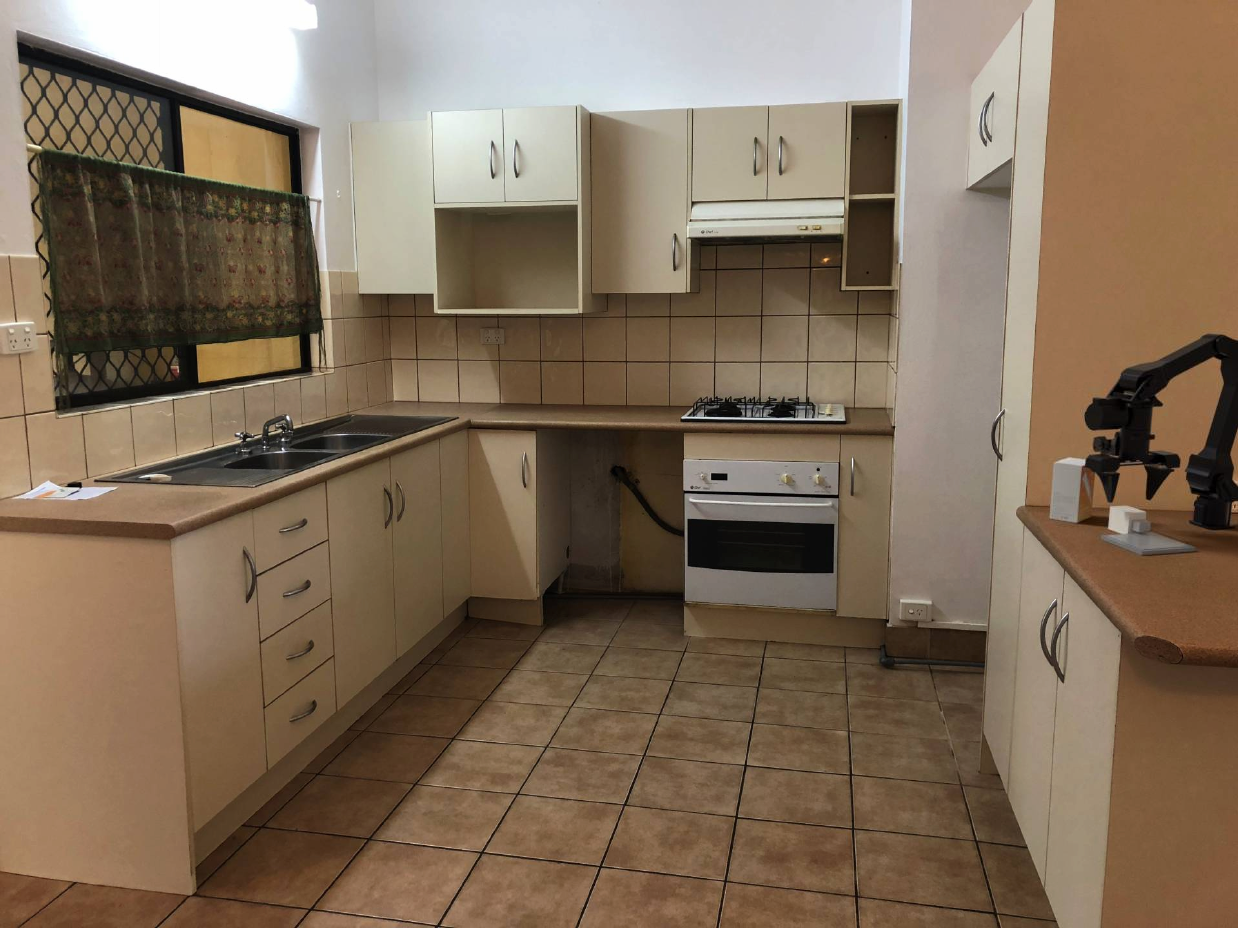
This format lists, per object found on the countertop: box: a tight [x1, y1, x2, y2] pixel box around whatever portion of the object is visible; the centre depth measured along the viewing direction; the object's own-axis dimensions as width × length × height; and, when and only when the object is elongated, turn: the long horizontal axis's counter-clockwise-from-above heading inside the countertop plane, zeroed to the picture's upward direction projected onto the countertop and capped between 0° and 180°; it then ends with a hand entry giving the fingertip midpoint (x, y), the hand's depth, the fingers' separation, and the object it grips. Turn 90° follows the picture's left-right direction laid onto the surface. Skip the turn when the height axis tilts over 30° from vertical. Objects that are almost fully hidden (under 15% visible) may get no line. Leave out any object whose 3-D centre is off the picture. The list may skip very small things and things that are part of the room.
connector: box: [1107, 505, 1152, 534], centre depth 209 cm, size 4×8×5 cm, turn 11°
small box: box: [1049, 456, 1096, 524], centre depth 221 cm, size 8×6×13 cm
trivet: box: [1100, 531, 1196, 556], centre depth 200 cm, size 12×12×1 cm
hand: (1129, 501), depth 209 cm, fingers open, 9 cm apart
